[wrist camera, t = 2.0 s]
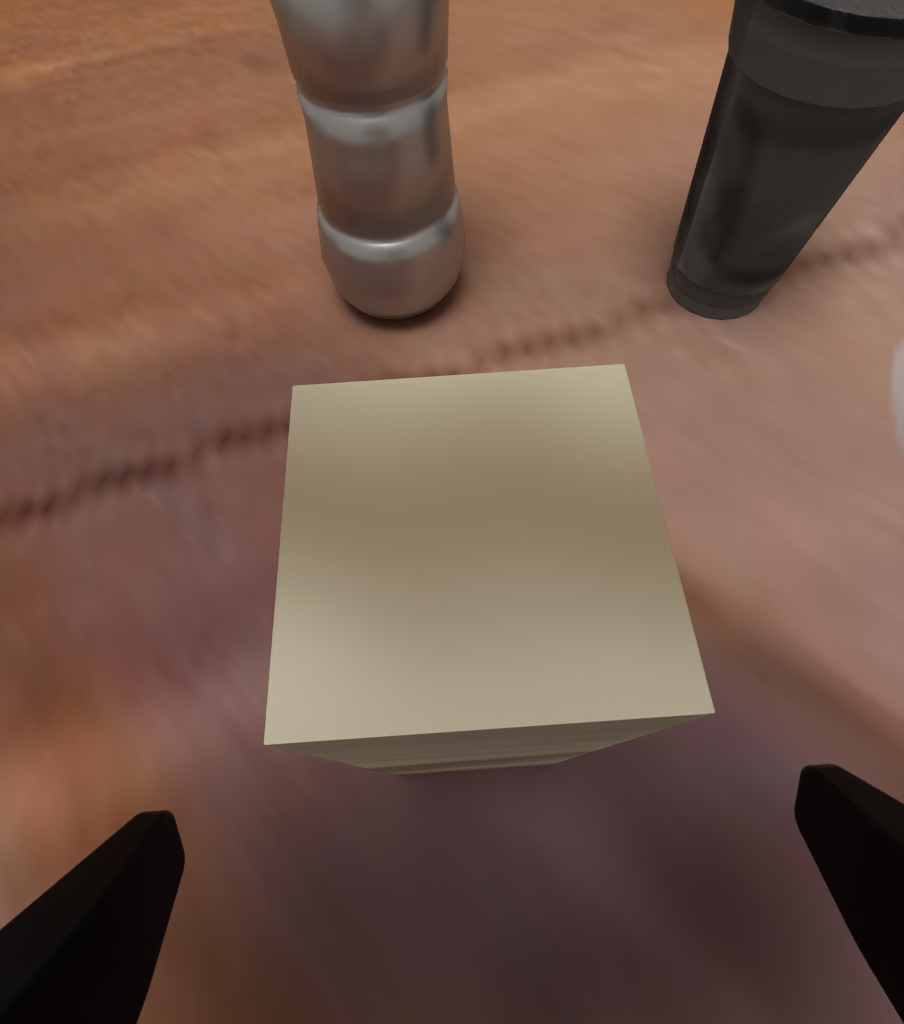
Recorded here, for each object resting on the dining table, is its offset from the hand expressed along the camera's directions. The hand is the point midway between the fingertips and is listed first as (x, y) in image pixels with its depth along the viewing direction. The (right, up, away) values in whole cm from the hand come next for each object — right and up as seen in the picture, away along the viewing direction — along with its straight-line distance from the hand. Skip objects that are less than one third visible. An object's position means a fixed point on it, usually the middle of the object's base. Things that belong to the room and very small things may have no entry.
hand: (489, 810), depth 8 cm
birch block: (0, -2, +11) cm, 11 cm away
